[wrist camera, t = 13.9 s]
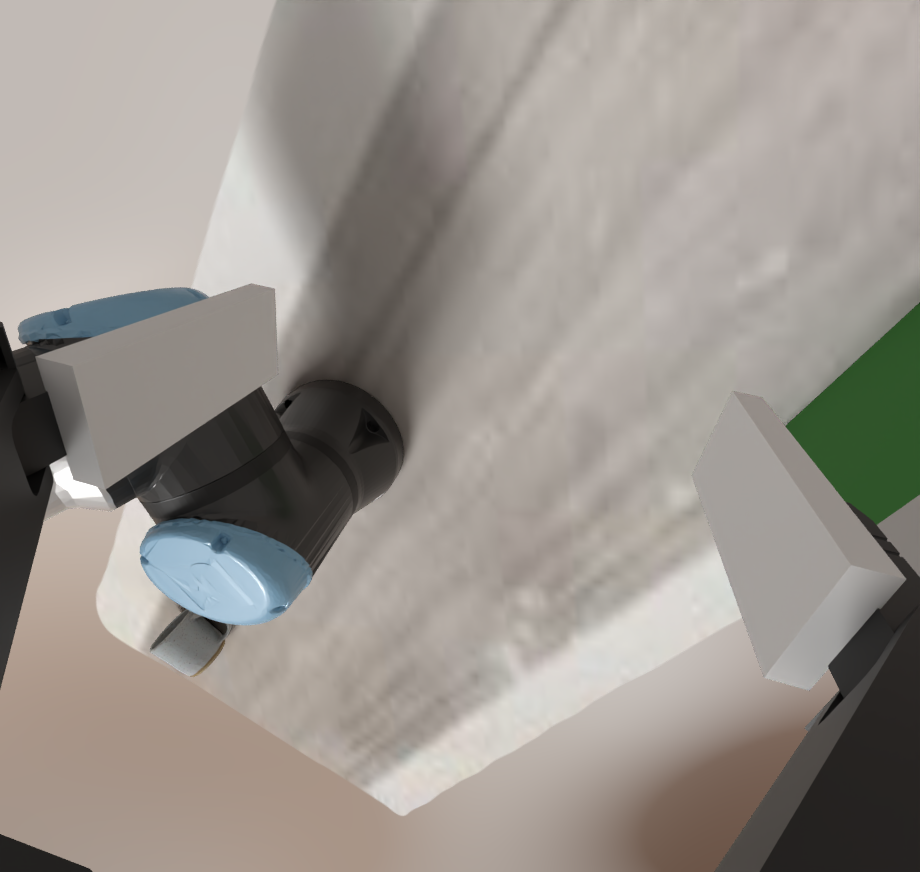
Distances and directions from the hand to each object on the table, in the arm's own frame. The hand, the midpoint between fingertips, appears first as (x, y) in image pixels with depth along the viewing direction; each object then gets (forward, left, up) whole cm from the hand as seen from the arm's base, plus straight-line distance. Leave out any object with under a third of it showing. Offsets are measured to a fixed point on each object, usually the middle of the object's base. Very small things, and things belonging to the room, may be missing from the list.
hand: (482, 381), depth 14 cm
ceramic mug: (-40, -65, -32) cm, 83 cm away
